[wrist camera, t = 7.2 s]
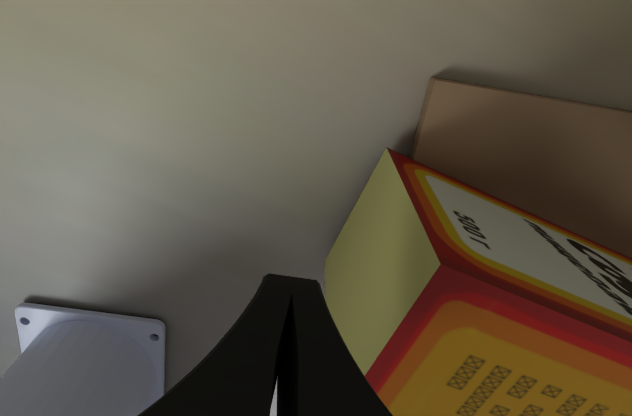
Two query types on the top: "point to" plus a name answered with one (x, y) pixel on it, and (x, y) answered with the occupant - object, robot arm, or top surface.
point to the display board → (534, 155)
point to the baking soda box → (477, 303)
